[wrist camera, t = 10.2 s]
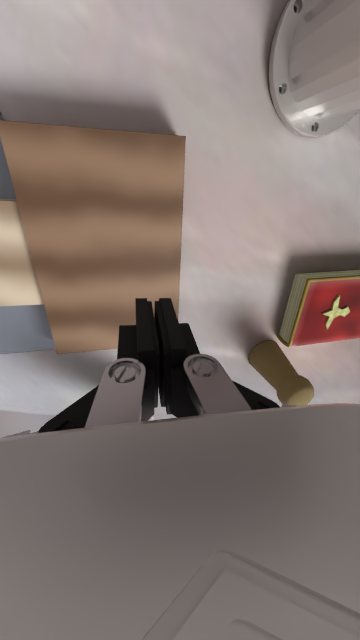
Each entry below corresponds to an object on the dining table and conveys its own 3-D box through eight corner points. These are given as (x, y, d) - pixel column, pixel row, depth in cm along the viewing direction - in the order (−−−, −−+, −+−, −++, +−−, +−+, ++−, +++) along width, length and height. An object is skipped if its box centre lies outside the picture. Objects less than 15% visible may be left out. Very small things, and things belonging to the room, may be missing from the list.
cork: (253, 340, 42) (292, 386, 33) (283, 340, 44) (328, 384, 34) (244, 367, 45) (277, 417, 36) (273, 366, 47) (311, 413, 37)
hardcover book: (372, 324, 47) (393, 336, 44) (275, 335, 43) (289, 350, 40) (401, 264, 41) (428, 272, 38) (291, 270, 37) (310, 280, 34)
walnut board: (9, 126, 23) (-5, 120, 20) (179, 140, 26) (185, 136, 23) (61, 341, 34) (57, 354, 32) (173, 331, 38) (177, 342, 35)
